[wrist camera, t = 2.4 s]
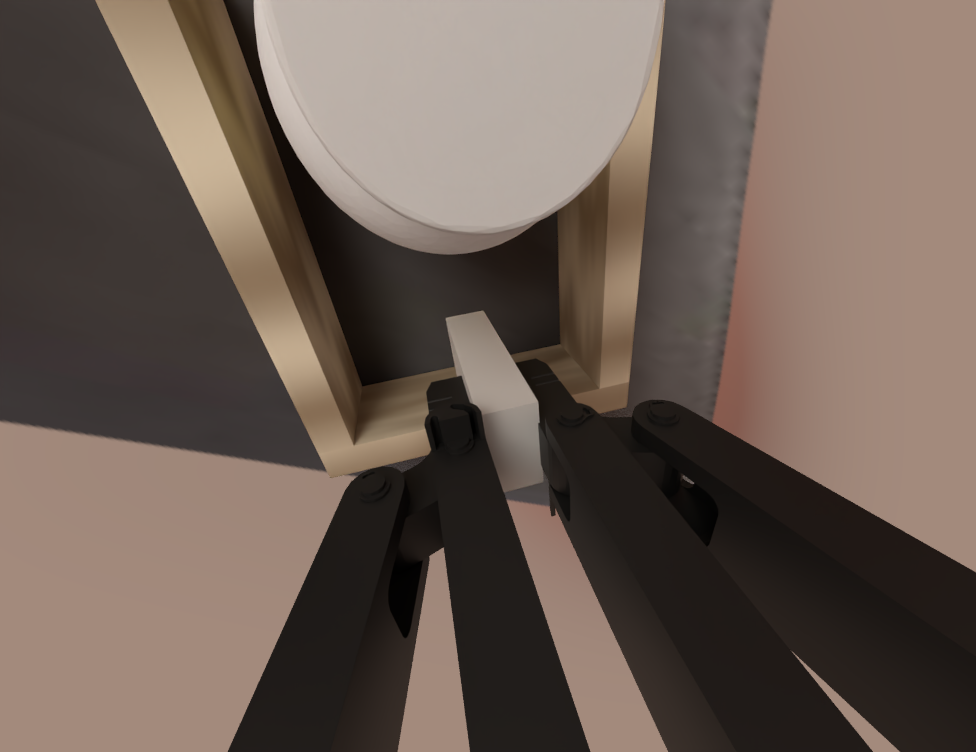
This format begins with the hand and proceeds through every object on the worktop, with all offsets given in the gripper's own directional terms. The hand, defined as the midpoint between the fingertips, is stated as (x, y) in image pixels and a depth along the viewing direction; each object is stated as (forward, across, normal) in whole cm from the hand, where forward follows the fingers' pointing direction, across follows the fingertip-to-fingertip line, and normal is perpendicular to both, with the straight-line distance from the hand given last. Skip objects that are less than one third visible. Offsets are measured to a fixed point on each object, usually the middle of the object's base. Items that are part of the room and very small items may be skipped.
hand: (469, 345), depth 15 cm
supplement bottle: (+5, 0, +8) cm, 9 cm away
